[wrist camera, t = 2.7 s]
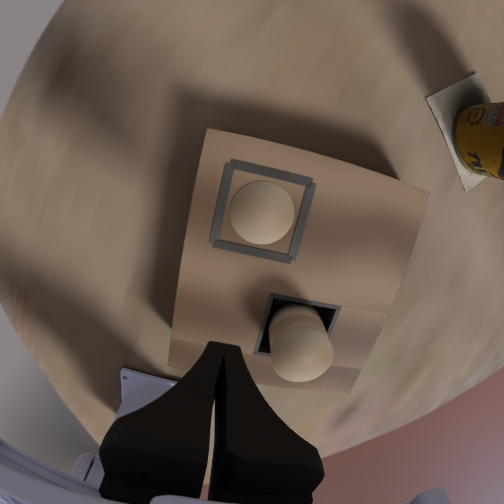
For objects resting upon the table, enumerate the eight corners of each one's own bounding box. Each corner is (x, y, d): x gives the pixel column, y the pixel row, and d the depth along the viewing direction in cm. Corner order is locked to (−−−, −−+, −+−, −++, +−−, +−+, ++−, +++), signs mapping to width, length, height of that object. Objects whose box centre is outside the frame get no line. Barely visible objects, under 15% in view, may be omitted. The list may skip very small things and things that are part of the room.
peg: (311, 348, 21) (321, 384, 17) (262, 340, 21) (264, 377, 17) (327, 305, 20) (342, 337, 16) (275, 295, 20) (281, 328, 16)
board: (337, 363, 25) (349, 393, 21) (178, 336, 24) (167, 366, 20) (402, 184, 20) (430, 192, 17) (215, 133, 19) (206, 127, 16)
